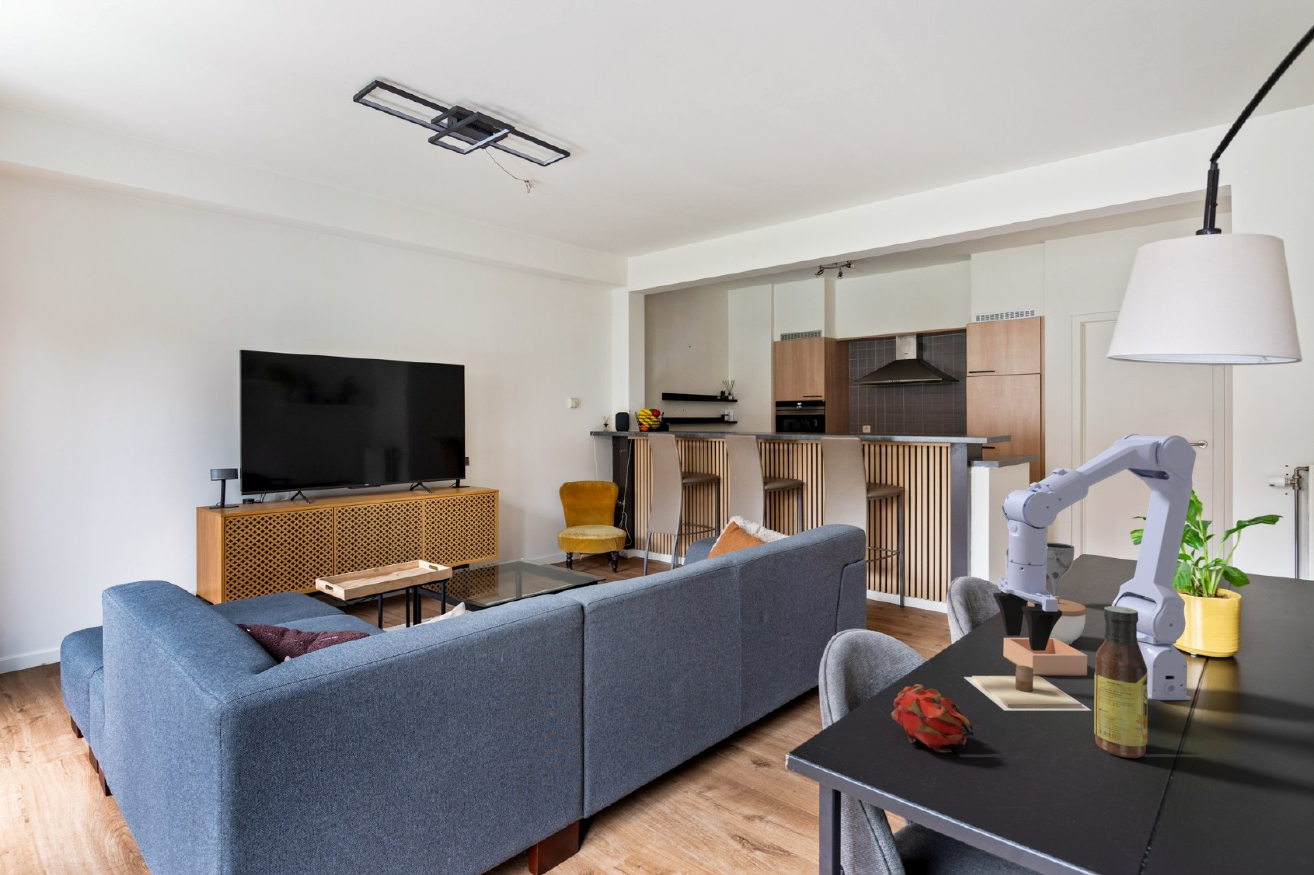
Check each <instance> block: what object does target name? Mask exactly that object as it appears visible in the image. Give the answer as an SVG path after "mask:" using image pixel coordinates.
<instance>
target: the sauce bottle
mask: <svg viewBox="0 0 1314 875" xmlns="http://www.w3.org/2000/svg"><path fill="white" fill-rule="evenodd" d="M1103 617H1104V621H1105V622H1104V624H1105V627H1104V629H1105V630H1104V640H1103V643H1102V644H1100V646H1099V647H1098V649H1097V650H1096V652H1095V671H1094V695H1093V696H1094V700H1093V702H1094V703H1093V704H1094V705H1093V706H1094V710H1093V711H1094V712H1093V713H1094V722H1093V723H1094V725H1093V726H1094V727H1093V728H1094V729H1093V731H1094V735H1095V743H1096V745H1097V747H1098V748H1100V749H1101V750H1104V751H1106V752H1108V753H1110V754H1112V755H1113V756H1116V757H1117V756H1118V757H1121V758H1129V759H1130V758H1131V759H1137V758H1142V757H1144V755H1145V754H1146V751H1147V749H1146V748H1147V747H1146V746H1147V744H1148V713H1149V712H1148V710H1149V709H1148V705H1149V704H1148V701H1149V699H1148V692H1147V689H1148V688H1147V683H1148V681H1147V678H1148V672H1147V667H1146V664H1145V661H1144V658H1143V656H1142V653H1141V650H1140V647H1139V645H1138V642H1137V622H1138V612H1137V611H1136V610H1134V609H1130V608H1125V607H1118V606H1112V605H1110V606H1104V607H1103Z"/></svg>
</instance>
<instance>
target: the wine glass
mask: <svg viewBox="0 0 1314 875" xmlns="http://www.w3.org/2000/svg"><path fill="white" fill-rule="evenodd" d="M1074 560H1075V546H1074V545H1072V544H1068V543H1060V542H1048V541H1047V570H1046V575H1048V577H1049V579H1050V580H1051V583H1052V596H1053V597H1054V596H1058V586H1059V582H1060V580H1061V579H1062V577H1064V576H1065V575H1066V574H1067V573H1068V572H1070V570H1071V569H1072V566H1073V564H1074Z"/></svg>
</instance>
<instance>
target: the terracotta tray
mask: <svg viewBox="0 0 1314 875" xmlns="http://www.w3.org/2000/svg"><path fill="white" fill-rule="evenodd" d="M1002 651H1003V657H1004V658H1005V659H1006V660H1008V661H1010V662H1011V663H1012V664H1015V666H1018V665H1022V666H1028V667H1031V668H1033V676H1073V677H1074V676H1078V677H1079V676H1085V677H1086V676H1088V655H1087V654H1085V653H1083V652H1082V651H1079V650H1078V649H1076V648H1074V647H1072V646H1070V645H1067V644H1065V643H1063V642H1061V641H1059V640H1057V639H1056V638H1049V640H1048V644H1047V647H1046V649H1045V651H1033V650H1031V648H1030V643H1029V637H1003V650H1002Z"/></svg>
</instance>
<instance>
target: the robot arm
mask: <svg viewBox="0 0 1314 875" xmlns="http://www.w3.org/2000/svg"><path fill="white" fill-rule="evenodd" d="M1196 457H1197V451H1196V450H1195V449H1194V447H1193V446H1192V445H1191V443H1190V442H1189V440H1188V439H1186V438H1185V437H1183V436H1181V435H1177V434H1171V435H1147V434H1146V435H1145V434H1137V433H1136V434H1135V433H1131V434H1126V435H1124V436H1123V437H1122V438H1120V439H1117V440H1114V441H1113V443H1112V446H1110V447H1109V448H1107V449H1106V450H1104V451H1103V452H1101V453H1099V454H1097V455H1096V456H1095V457H1093V458H1092V459H1090V460H1089V461H1087V462H1086V463H1083V464H1082V465H1081V466H1079V467H1077V468H1076V469H1072V468H1067V467H1066V468H1065V467H1064V468H1061V467H1060V468H1059V467H1058V468H1054V469H1053V470H1051V473H1052V474H1051V475H1049V476H1047V477H1045V478H1043V479H1042V480H1040V481H1039V482H1035V481H1034V482H1032V483H1030V484H1029V487H1028V488H1027V489H1026V490H1025V489H1016V490H1013V491H1012V492H1009V494H1008V496H1006V497H1005V500H1004V503H1003V504H1001V506H1000V509H1001V510H1000V511H1001V513H1002V515H1003V517H1004V518H1005V520H1006V523H1007V524H1006V525H1007V526H1006V528H1007V529H1008V548H1007V550H1008V552H1007V554H1008V555H1007V556H1008V557H1007V558H1008V560H1007V577H1006V578H1005V577H1004V578H1003V577H999V578H998V586H997V587H998V590H1000V592H994V593H992V594H993V598H994V600H995V602H996V604H997V606H998V608H999V609H998V610H999V611H1000V615H1001V618H1002V623H1003V627H1004V632H1005V635H1006V636H1009V637H1010V636H1012V637H1014V636H1015V637H1017V636H1018V637H1019V636H1021V633H1022V629H1023V618H1024V616H1025V620H1026V624H1027V630H1028V638H1029V643H1030V648H1031V650H1033V651H1045V649H1046V647H1047V644H1048V640H1049V637H1050V635H1051V632H1052V630H1053V628H1054V626H1055V624H1056V623H1057V621H1058V620H1059V619H1060V617H1061V616H1062V611H1061V610H1059V609H1058V599H1056V598H1054V597H1053V594H1051V592H1049V590H1048V589H1047V573H1046V570H1047V542H1048V529H1049V526H1052V525H1053V524H1054V522H1055V520H1056V519H1057V517H1058V514H1059V513H1061V511H1063V510H1065V509H1067V508H1069V507H1070V506H1072V505H1074V504H1076V503H1078V502H1079V501H1081V500H1083V499H1085V498H1086V497H1087V496H1088V494H1089V488H1090V487H1091V486H1093V485H1096V484H1098V483H1100V482H1102V481H1105V479H1108V478H1110V477H1112V476H1115V475H1117V474H1119V473H1121V472H1123V471H1125V470H1127V471H1129V472H1130V473H1131V474H1133V475H1134V476H1136V477H1137V478H1139V479H1140V480H1142V481H1143V482H1144V484H1145V485H1146V486H1147V487H1148V488H1149V489H1150V492H1151V493H1150V498H1149V504H1148V508H1147V512H1146V517H1145V523H1144V527H1143V533H1142V537H1141V542H1140V546H1139V552H1138V557H1137V561H1136V566H1135V571H1134V577H1132V578H1131V579H1130V580H1127V581H1125V582H1124V583H1122V584H1121V585H1120V586H1119V591H1118V594H1117V596H1116V597H1115V599H1114V600H1113V602H1112V603H1111V606H1118V607H1125V608H1130V609H1134V610H1136V611H1137V612H1138V622H1137V642H1138V645H1139V647H1140V650H1141V653H1142V656H1143V658H1144V661H1145V664H1146V667H1147V672H1148V678H1147V681H1148V683H1147V688H1148V689H1147V692H1148V700H1158V701H1192V696H1190V695H1188V694H1187V690H1188V689H1187V688H1188V662H1187V658H1186V657H1185V655H1184V653H1182V652H1180V651H1179V650H1178V649H1177V648H1176V647H1175V645H1174V644H1177V641H1178V640H1179V639H1180V638H1181V637H1182V636H1183V635H1184V632H1185V629H1186V623H1187V622H1186V616H1185V605H1186V601H1185V600H1184V599H1183V597H1182V596H1181V595H1180V594H1179V593H1178V591H1176V590H1175V588H1174V587H1173V584H1174V579H1175V574H1176V570H1177V564H1178V559H1179V555H1180V550H1181V546H1182V540H1183V536H1184V530H1185V524H1186V521H1187V516H1188V511H1189V505H1190V501H1191V496H1192V492H1193V477H1192V476H1193V473H1194V468H1195V463H1196ZM1028 601H1029V602H1031V603H1033V604H1034V607H1033V606H1028Z"/></svg>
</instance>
